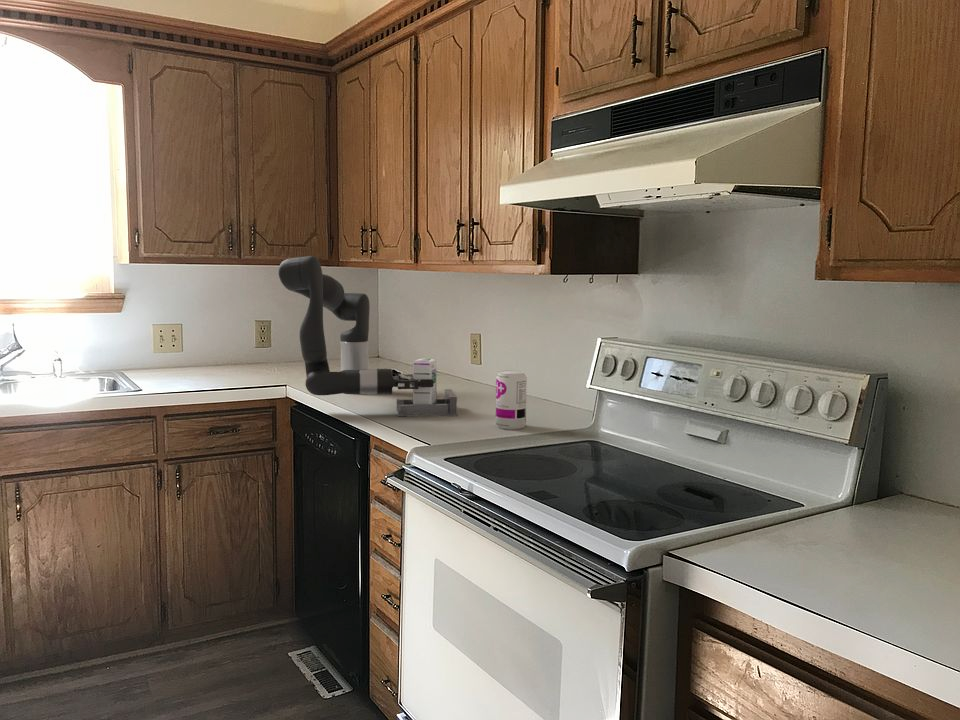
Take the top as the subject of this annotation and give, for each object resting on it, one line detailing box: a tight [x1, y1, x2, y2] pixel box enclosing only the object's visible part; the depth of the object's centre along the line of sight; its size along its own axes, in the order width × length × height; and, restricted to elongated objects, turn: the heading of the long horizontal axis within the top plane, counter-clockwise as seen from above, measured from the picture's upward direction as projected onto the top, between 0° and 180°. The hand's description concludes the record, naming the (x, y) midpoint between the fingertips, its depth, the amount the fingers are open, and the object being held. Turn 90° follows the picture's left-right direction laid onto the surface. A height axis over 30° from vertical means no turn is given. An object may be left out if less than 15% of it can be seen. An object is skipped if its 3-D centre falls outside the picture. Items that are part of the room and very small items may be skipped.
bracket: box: [395, 388, 458, 418], centre depth 240 cm, size 14×17×6 cm
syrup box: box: [412, 358, 437, 404], centre depth 239 cm, size 6×6×14 cm
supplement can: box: [495, 369, 528, 431], centre depth 219 cm, size 8×8×15 cm
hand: (432, 381), depth 239 cm, fingers closed on syrup box, 7 cm apart
